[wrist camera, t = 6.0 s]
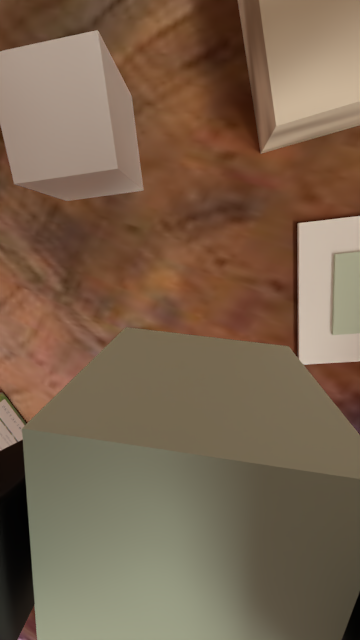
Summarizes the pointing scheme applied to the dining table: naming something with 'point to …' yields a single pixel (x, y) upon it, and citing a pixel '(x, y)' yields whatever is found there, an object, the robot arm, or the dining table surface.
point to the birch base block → (302, 67)
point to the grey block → (68, 119)
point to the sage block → (192, 496)
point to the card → (329, 290)
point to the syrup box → (9, 423)
